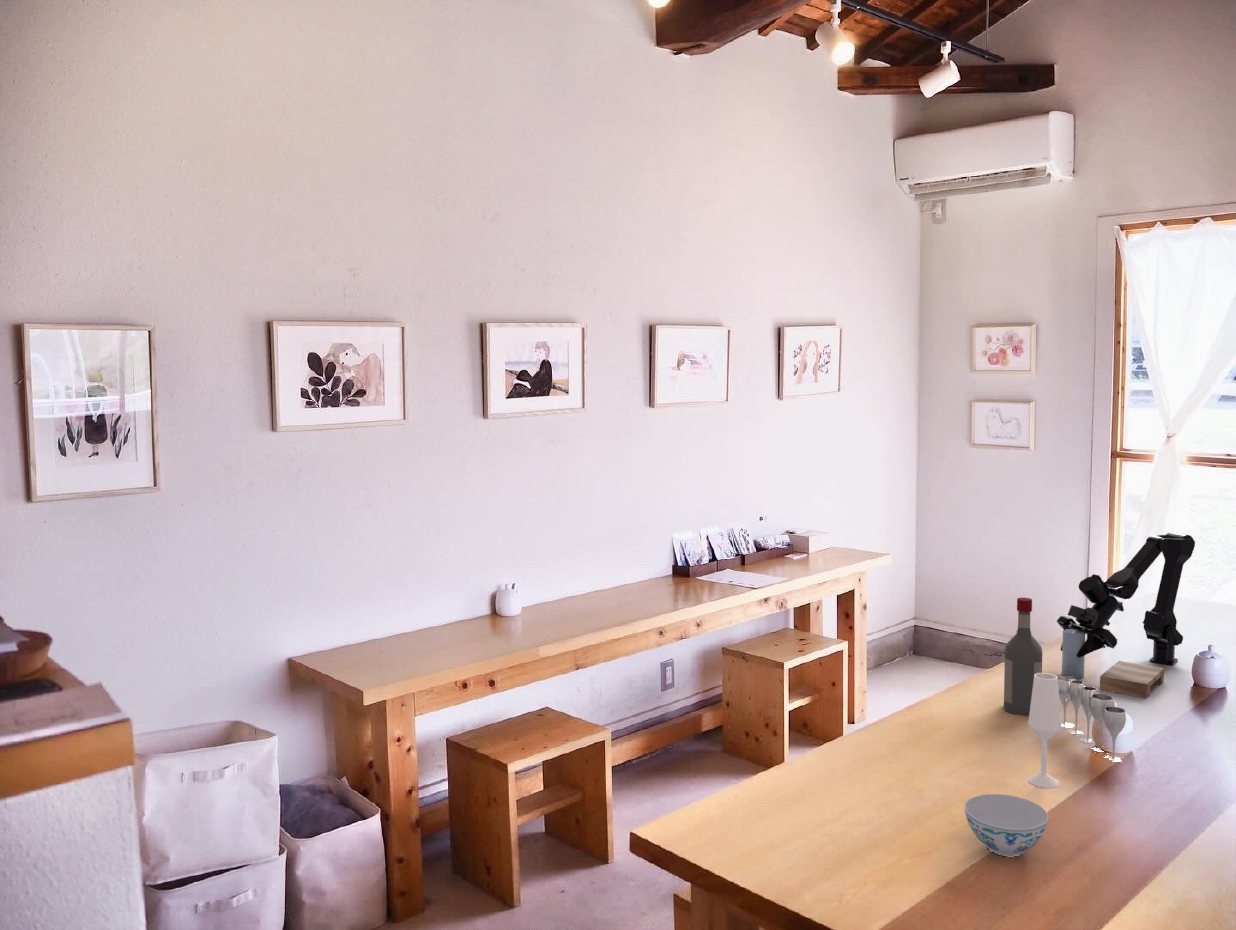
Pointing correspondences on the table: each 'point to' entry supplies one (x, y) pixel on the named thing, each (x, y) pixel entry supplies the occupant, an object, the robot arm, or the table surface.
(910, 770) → the table surface
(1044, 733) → the champagne flute
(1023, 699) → the liquor
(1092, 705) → the goblet set
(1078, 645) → the tall grey cylinder
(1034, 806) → the chinaware
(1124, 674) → the riser
